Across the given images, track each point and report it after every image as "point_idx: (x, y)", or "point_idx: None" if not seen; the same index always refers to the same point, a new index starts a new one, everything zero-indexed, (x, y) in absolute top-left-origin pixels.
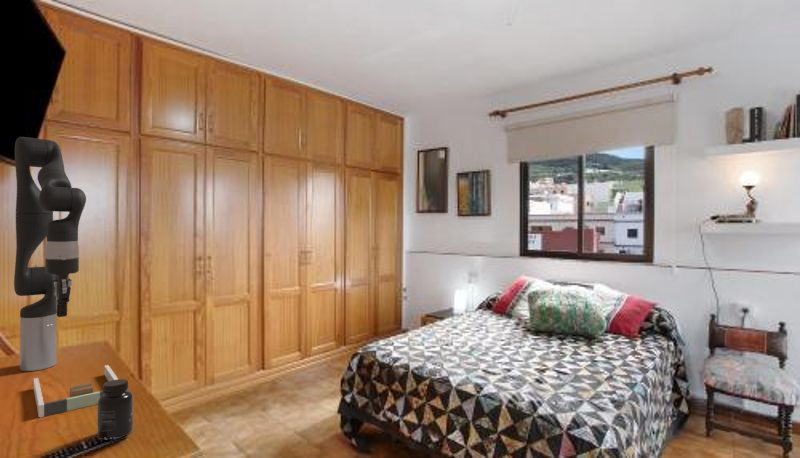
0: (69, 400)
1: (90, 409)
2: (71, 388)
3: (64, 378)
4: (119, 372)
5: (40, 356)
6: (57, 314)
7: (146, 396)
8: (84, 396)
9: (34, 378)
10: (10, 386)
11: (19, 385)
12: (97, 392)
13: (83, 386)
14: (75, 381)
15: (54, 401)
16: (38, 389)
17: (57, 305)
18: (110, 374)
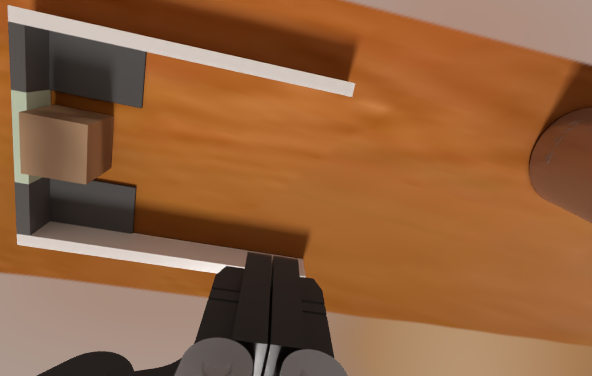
0: (14, 96)
1: (5, 137)
2: (60, 122)
3: (374, 174)
4: None
5: (569, 164)
6: (247, 261)
7: (9, 270)
8: (13, 138)
9: (353, 85)
10: (441, 37)
11: (426, 60)
12: (20, 176)
13: (53, 155)
14: (313, 187)
15: (18, 55)
16: (205, 57)
17: (236, 329)
18: (190, 259)
